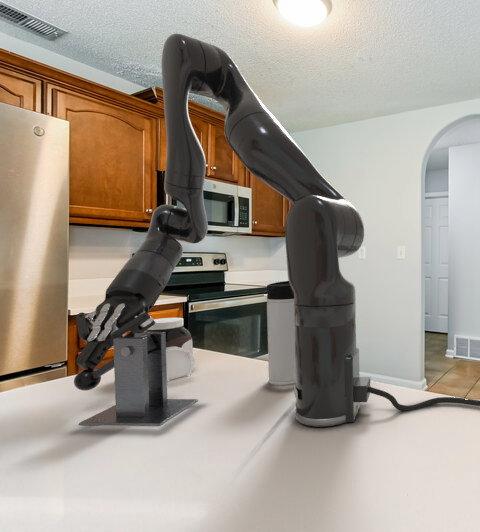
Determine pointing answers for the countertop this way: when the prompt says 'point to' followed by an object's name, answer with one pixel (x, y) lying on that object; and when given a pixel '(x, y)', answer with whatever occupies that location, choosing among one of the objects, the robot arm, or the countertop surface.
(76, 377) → the tap lever
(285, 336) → the travel mug
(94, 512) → the countertop surface
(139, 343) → the bracket
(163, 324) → the spread jar
